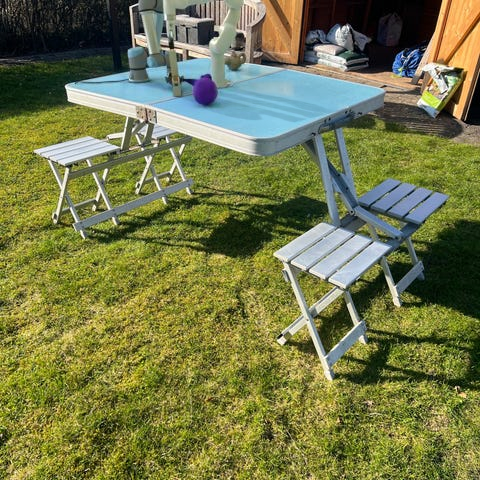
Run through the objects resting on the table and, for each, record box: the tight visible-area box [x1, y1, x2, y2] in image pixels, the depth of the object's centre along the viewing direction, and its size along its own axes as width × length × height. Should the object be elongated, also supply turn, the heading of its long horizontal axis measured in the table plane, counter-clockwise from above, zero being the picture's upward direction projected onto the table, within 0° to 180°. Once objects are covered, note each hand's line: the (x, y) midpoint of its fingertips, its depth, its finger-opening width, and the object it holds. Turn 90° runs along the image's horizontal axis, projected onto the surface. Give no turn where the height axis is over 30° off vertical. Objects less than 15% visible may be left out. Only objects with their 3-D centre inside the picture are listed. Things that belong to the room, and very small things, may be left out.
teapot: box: [224, 50, 247, 71], centre depth 368 cm, size 21×12×15 cm, turn 120°
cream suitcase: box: [171, 77, 182, 97], centre depth 298 cm, size 17×5×9 cm, turn 8°
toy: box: [182, 73, 219, 106], centre depth 272 cm, size 16×18×27 cm
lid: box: [167, 48, 180, 77], centre depth 298 cm, size 18×5×8 cm
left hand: (176, 82), depth 301 cm, fingers closed on cream suitcase, 5 cm apart
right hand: (171, 48), depth 296 cm, fingers open, 5 cm apart
